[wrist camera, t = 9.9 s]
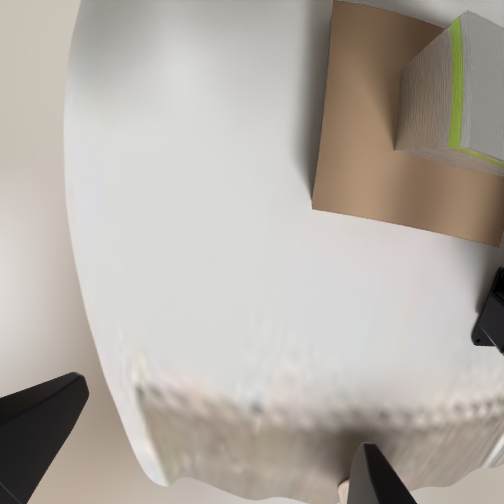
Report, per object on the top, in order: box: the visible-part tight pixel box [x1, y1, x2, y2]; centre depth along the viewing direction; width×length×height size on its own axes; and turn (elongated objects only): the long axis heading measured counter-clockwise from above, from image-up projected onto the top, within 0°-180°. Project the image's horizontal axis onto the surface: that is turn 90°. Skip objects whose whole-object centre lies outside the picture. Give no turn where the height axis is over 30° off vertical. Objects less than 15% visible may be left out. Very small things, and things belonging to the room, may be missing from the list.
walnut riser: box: [312, 0, 504, 247], centre depth 14 cm, size 12×12×3 cm
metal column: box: [394, 10, 504, 176], centre depth 9 cm, size 4×4×8 cm
